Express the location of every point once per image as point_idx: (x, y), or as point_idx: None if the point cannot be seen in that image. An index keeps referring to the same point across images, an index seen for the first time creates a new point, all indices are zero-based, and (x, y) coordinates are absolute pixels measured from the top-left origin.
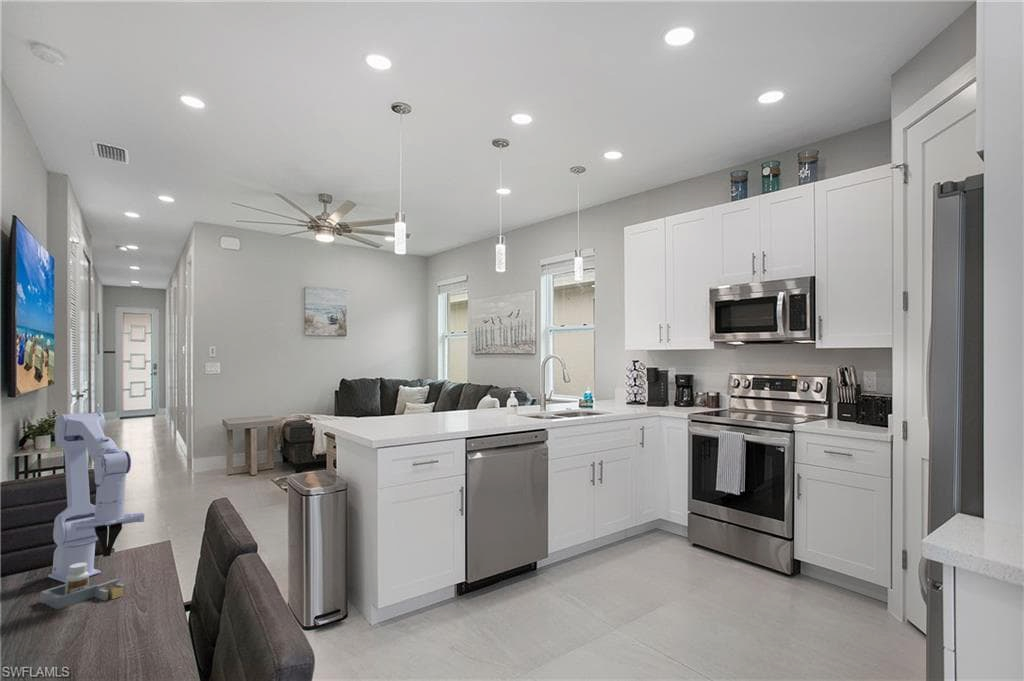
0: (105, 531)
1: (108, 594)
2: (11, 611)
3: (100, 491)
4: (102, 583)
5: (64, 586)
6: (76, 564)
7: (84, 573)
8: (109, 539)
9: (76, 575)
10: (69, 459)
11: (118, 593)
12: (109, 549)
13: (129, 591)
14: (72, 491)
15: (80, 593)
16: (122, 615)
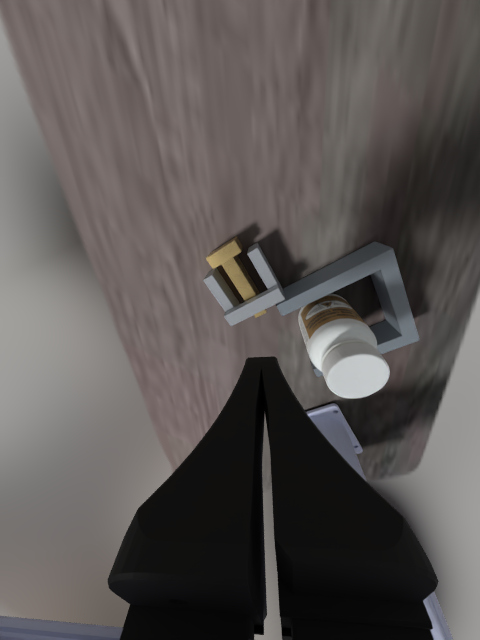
0: (306, 548)
1: (248, 274)
2: (470, 297)
3: None
4: (266, 307)
5: None
6: (362, 387)
7: (326, 344)
8: (251, 436)
9: (352, 336)
10: None
11: (220, 247)
12: (250, 379)
13: (198, 280)
14: None
15: (323, 279)
16: (184, 15)
